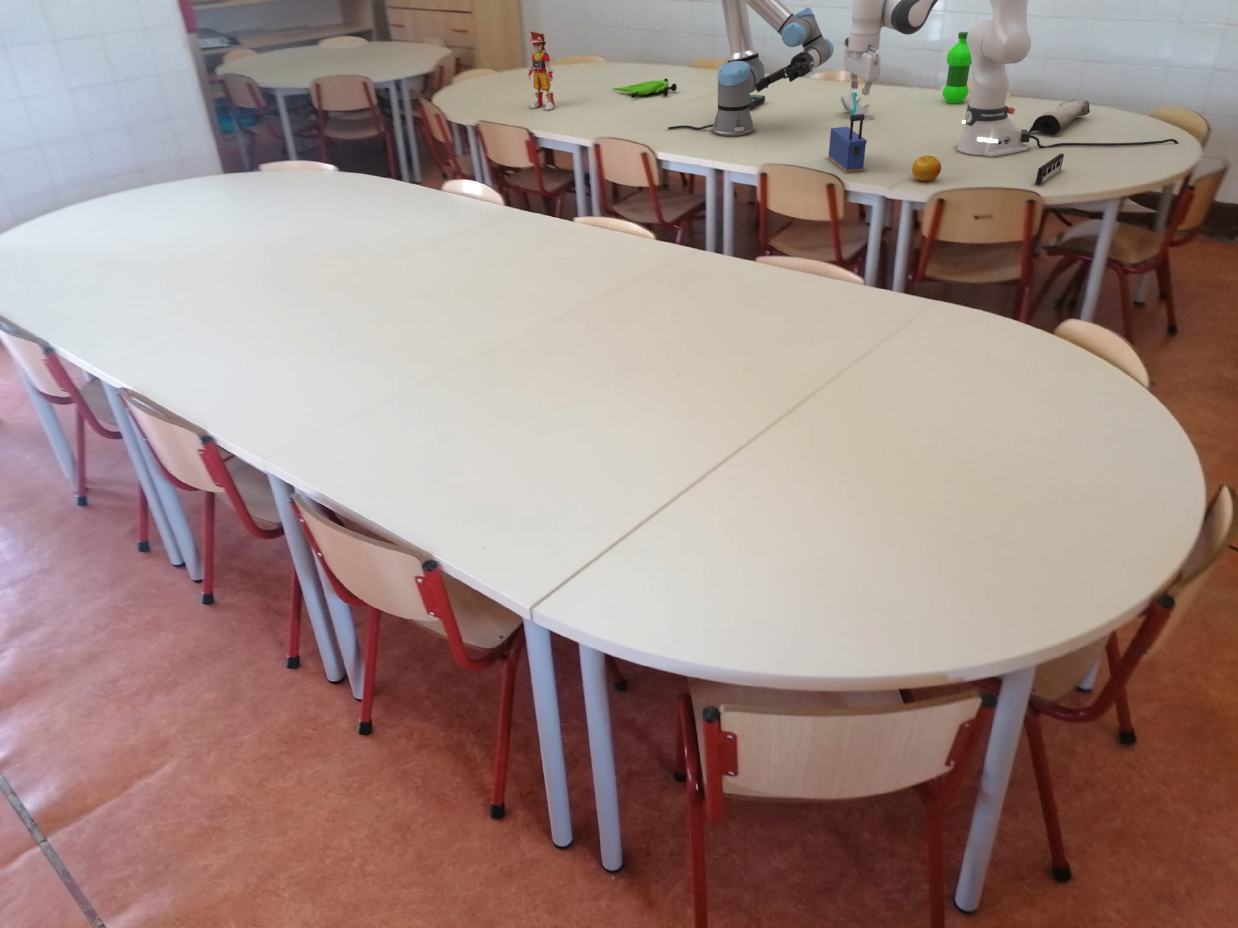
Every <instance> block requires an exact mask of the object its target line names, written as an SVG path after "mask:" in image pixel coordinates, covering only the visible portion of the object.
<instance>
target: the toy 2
mask: <svg viewBox="0 0 1238 928" xmlns="http://www.w3.org/2000/svg"><path fill="white" fill-rule="evenodd" d="M669 85H670V83H669V79H668V78H664V79H663V80H649V81H644V82H640V83H634V84H629V85H627V86H621V87H613V88H612V89H613V90H616V91H619V92H623V93H627V94H628V93H629V94H631V95H630V96H631V98H632V99H634V98H636V96H637V95H650V94H652V93H654V94H658V93H662V95H663V96H665V97H667V96H668V95H669V90H671V91H672V92H676V91H677V84H676V83H672V84H671V86H669Z"/></svg>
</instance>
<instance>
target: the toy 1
mask: <svg viewBox="0 0 1238 928" xmlns="http://www.w3.org/2000/svg"><path fill="white" fill-rule="evenodd" d="M529 33H530V35H531V36H528V37H527V38H528V39H529V40H528V41H527V43H529V44H530V43H531V44H532V48H533V50H534V51H533V52H532V55H531V58H530V59H531V63H530V66H528V74H527V75H528V76H527V77H528V79H529V80H531V75H532V74H533V84H532V85H533V86H532V87H533V88H534V89H535V90H536V92H534V95H535V97H536V100H535V101H533V102H531V105H530V108H531V109H535V108H538V107H542V106H544V101H543V100H544V99H543V95H544V92H546V94H545V97H546V99H547V103H546V104H545V106H544V110H546V111H549V110H553V109H554V107H555V106H556V105H555V99H554V92H551V91H550V90H551V86H552V84H551V82H552V81H553V80H554V77H553V73H554V71H555V70H554V69H552V68H551V63H550V61H551V59H550V58H551V57H550V54H549V53H548V52H547V50H546V48H545V46H546V44H547V41H545V35H544V33H543V32H542V33H539V32H535V31H529Z"/></svg>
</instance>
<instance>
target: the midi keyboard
mask: <svg viewBox="0 0 1238 928" xmlns="http://www.w3.org/2000/svg"><path fill="white" fill-rule="evenodd" d="M1064 157H1065V153H1059V154H1058V155H1056V156H1055V157H1052V159H1051V160H1049V161H1047V162H1045V164H1042V165H1041V166H1039V167H1038V169H1037V175H1036V179H1035V186H1040V185H1042V183H1044V182H1045V181H1047V180H1048V179H1049V178H1051V177H1052V176H1054V175H1055V174H1056V173H1058V172H1060V171H1061V170H1062V165H1063V161H1064Z"/></svg>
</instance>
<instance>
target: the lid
mask: <svg viewBox="0 0 1238 928" xmlns="http://www.w3.org/2000/svg"><path fill="white" fill-rule="evenodd" d="M865 118H866V117H865V116H864V114H855V115H852V114H850V116H849V121H850V125H849V127H848V126H840V127H831V128H830V133H831V132H832V133H833V134H835V135H836V136H838V137H839V138H840V139H842V140H843V141H844V142H846V143H847V144H848V145H859V144H866V145H867V142H868V140H867V139H866V138H865V137H863V135H862V134H863V125H864V120H865ZM858 121H859V129H858V133H857V132H855V131H854V122H858Z"/></svg>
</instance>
